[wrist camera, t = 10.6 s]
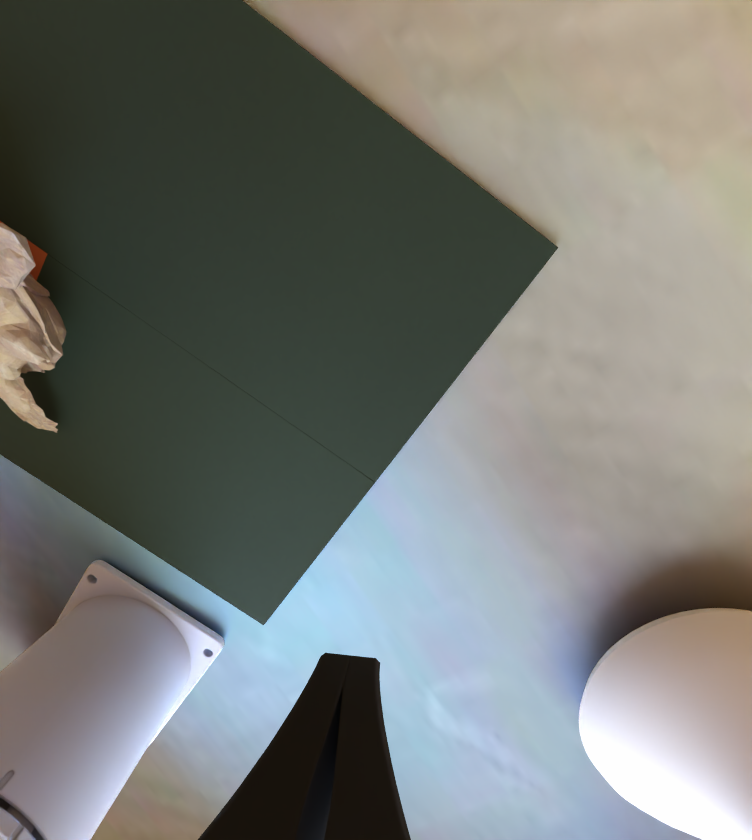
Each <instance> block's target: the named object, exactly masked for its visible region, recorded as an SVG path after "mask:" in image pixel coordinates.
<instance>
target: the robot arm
mask: <svg viewBox="0 0 752 840" xmlns="http://www.w3.org/2000/svg"><path fill="white" fill-rule="evenodd" d="M94 576H95V577H96V578H95V577H94ZM224 644H225V642H224V639H223V637H221V636H220V635H219V634H217V633H216V632H214V631H213V630H211V629H210V628H208V627H206V626H205V625H203V624H202V623H200V622H199V621H197V620H195V619H194V618H192V617H191V616H189V615H188V614H186V613H185V612H183V611H181V610H180V609H178V608H177V607H175V606H174V605H172V604H170V603H169V602H167V601H166V600H164V599H163V598H161V597H160V596H158V595H156V594H155V593H153V592H152V591H150V590H149V589H147V588H146V587H144V586H142V585H141V584H139V583H138V582H136V581H135V580H133V579H131V578H130V577H128V576H127V575H125V574H124V573H122V572H121V571H119V570H117V569H116V568H114V567H113V566H111V565H110V564H108V563H107V562H105V561H102V560H96V561H94V562H93V563H91V564H90V565H89V566H88V568H87V569H86V571H85V573H84V575H83V576H82V578H81V580H80V581H79V583H78V585H77V587H76V588H75V590H74V592H73V594H72V595H71V597H70V599H69V601H68V602H67V604H66V606H65V608H64V609H63V611H62V613H61V614H60V616H59V618H58V620H57V621H56V623H55V625H54V626H53V627H52V628H51V629H50V630H49V631H47V632H46V633H45V634H44V635H43V636H42V637H40V638H39V639H38V640H37V641H36V642H35V643H33V644H32V645H31V646H30V647H29V648H28V649H26V650H25V651H24V652H23V653H22V654H21V655H19V656H18V657H17V658H16V659H15V660H14V661H13V662H11V663H10V664H9V665H8V666H7V667H6V668H4V669H3V670H2V671H1V672H0V840H90V839H91V838H92V836H93V834H94V833H95V831H96V830H97V828H98V826H99V825H100V823H101V821H102V820H103V818H104V817H105V815H106V813H107V812H108V810H109V809H110V807H111V805H112V804H113V802H114V800H115V799H116V797H117V796H118V794H119V792H120V791H121V789H122V787H123V786H124V784H125V783H126V781H127V779H128V778H129V776H130V775H131V773H132V771H133V770H134V768H135V766H136V765H137V763H138V762H139V760H140V758H141V757H142V755H143V753H144V752H145V750H146V749H147V747H148V746H149V745H150V744H151V743H152V741H153V740H154V739H155V738H156V736H157V735H158V734H159V732H160V731H161V730H162V728H163V727H164V726H165V724H166V723H167V722H168V720H169V719H170V718H171V716H172V715H173V714H174V712H175V711H176V710H177V708H178V707H179V706H180V704H181V703H182V702H183V701H184V699H185V698H186V697H187V695H188V694H189V693H190V691H191V690H192V689H193V687H194V686H195V685H196V683H197V682H198V681H199V679H200V678H201V677H202V675H203V674H204V673H205V671H206V670H207V669H208V668H209V666H210V665H211V664H212V662H213V661H214V660H215V658H216V657H217V656H218V654H219V653H220V652H221V650H222V648H223V647H224ZM209 649H210V650H209ZM379 672H380V662H379V661H378V660H377V659H376V658H368V657H359V656H349V655H340V654H331V653H325V654H323V655H322V656H321V657H320V659H319V661H318V663H317V666H316V668H315V670H314V671H313V673H312V675H311V677H310V679H309V681H308V683H307V685H306V686H305V688H304V690H303V692H302V693H301V695H300V697H299V698H298V700H297V702H296V703H295V705H294V707H293V708H292V710H291V712H290V713H289V715H288V716H287V718H286V719H285V721H284V723H283V724H282V726H281V727H280V729H279V730H278V732H277V734H276V735H275V737H274V738H273V740H272V741H271V743H270V744H269V746H268V747H267V749H266V750H265V751H264V753H263V754H262V756H261V757H260V759H259V760H258V761H257V763H256V764H255V766H254V767H253V768H252V770H251V771H250V773H249V774H248V775H247V777H246V778H245V780H244V781H243V783H242V784H241V785H240V787H239V788H238V789H237V791H236V792H235V793H234V795H233V796H232V797H231V799H230V800H229V801H228V802H227V804H226V805H225V806H224V808H223V809H222V810H221V812H220V813H219V814H218V815H217V817H216V818H215V819H214V820H213V822H212V823H211V824H210V825H209V827H208V828H207V829H206V830H205V832H204V833H203V834H202V835H201V836H200V838H199V839H198V840H411V839H410V835H409V832H408V828H407V824H406V821H405V817H404V813H403V809H402V805H401V801H400V797H399V793H398V789H397V785H396V781H395V776H394V772H393V767H392V763H391V758H390V753H389V747H388V742H387V737H386V732H385V726H384V720H383V712H382V704H381V695H380V681H379Z"/></svg>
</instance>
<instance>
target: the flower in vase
mask: <svg viewBox="0 0 752 840" xmlns="http://www.w3.org/2000/svg"><path fill="white" fill-rule="evenodd" d="M579 731H580V735H581V739H582V743H583V746H584V748H585V750H586V753H587V755H588V756H589V758H590V760H591V761H592V763H593V764H594V766H595V767H596V768H597V769H598V771H599V772H600V773H601V774H602V775H603V777H604V778H605V779H606V780H607V781H608V783H609V784H610V785H611V786H612V787H613V788H614V790H615V791H616V792H618V793H619V794H620V795H621V796H622V797H623V798H624V799H626V800H627V801H629V802H630V803H632V804H633V805H635V806H636V807H638V808H639V809H641V810H643V811H644V812H646V813H648V814H649V815H651V816H653V817H655V818H656V819H658V820H660V821H662V822H663V823H665V824H667V825H669V826H671V827H674V828H676V829H678V830H681V831H683V832H686V833H688V834H691V835H693V836H695V837H698V838H700V839H703V840H752V611H748V610H741V609H734V608H707V609H696V610H690V611H684V612H679V613H675V614H672V615H668V616H664V617H662V618H659V619H657V620H654V621H652V622H649V623H647V624H645V625H643V626H641V627H639V628H637V629H636V630H634V631H632V632H631V633H629V634H628V635H626V636H625V637H623V638H622V639H620V640H619V641H618V642H617V643H616V644H614V645H613V646H612V647H611V648H610V649H609V650H608V651H607V652H606V653H605V654H604V655H603V657H602V658H601V659H600V660H599V661H598V663H597V664H596V666H595V667H594V669H593V670H592V672H591V674H590V677H589V679H588V681H587V683H586V686H585V690H584V693H583V697H582V700H581V704H580V711H579Z"/></svg>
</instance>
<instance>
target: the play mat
mask: <svg viewBox="0 0 752 840" xmlns="http://www.w3.org/2000/svg"><path fill="white" fill-rule="evenodd" d="M0 223H3V224H5V225H6V226H8V227H10V228H11V229H13V230H15V231H16V232H18V233H19V234H21V235H23V236H24V237H26V239H27V241H28V244H29V247H30V250H31V253H32V256H33V259H34V262H35V264H36V266H35V267H34V268H33V269H32V270H31V272H30V274H31V275H32V276H33V278H34V279H35V280H36V281H37V282H38V283H39V284H41V285H42V286H43V287H44V288H46V289H47V290H48V291H49V293H50V296H48V297H49V299H50V300H51V301H52V302H53V304H54V306H55V307H56V309H57V311H58V312H59V314H60V316H61V318H62V321H63V323H64V326H65V329H66V331H67V332H66V336H65V339H64V343H63V344H62V351H63V355H62V356H61V357H60V359H59V360H58V361H57V362H56V363H55V368H53V369H51V370H44V371H45V373H43V372H37V371H29V372H27V373H21V374H20V377H21V378H23V380H24V384H25V386H26V387H27V388H28V389H29V391H30V392H31V394H32V396H33V399H34V401H35V403H36V405H37V406H39V407H40V408H41V409H42V410H43V412H44V414H45V417H46V418H48V419H49V420H51V421H53V422H55V423H57V426H56V427H55V428H56V429H58V431H57V433H56V432H54V431H50V430H45V429H38V428H36V427H34V426H33V425H31V424H30V423H28V422H27V421H23V420H22V419H21V418H20V417H19V416H17V415H16V414H15V413H14V412H13V411H12V410H11V409H10V408H9V406H8V405H7V404H6V403H5V401H4V400H3V399H2V398H0V454H1V455H2V456H4V457H5V458H7V459H8V460H10V461H11V462H13V463H14V464H16V465H17V466H19V467H21V468H22V469H24V470H25V471H27V472H28V473H30V474H31V475H33V476H34V477H36V478H38V479H39V480H41V481H42V482H44V483H45V484H47V485H48V486H50V487H51V488H53V489H54V490H56V491H58V492H59V493H61V494H62V495H64V496H65V497H67V498H68V499H70V500H71V501H73V502H74V503H76V504H78V505H79V506H81V507H82V508H84V509H85V510H87V511H88V512H90V513H91V514H93V515H95V516H96V517H98V518H99V519H101V520H102V521H104V522H105V523H107V524H108V525H110V526H111V527H113V528H115V529H116V530H118V531H119V532H121V533H122V534H124V535H125V536H127V537H128V538H130V539H131V540H133V541H135V542H136V543H138V544H139V545H141V546H142V547H144V548H145V549H147V550H148V551H150V552H152V553H153V554H155V555H156V556H158V557H159V558H161V559H162V560H164V561H165V562H167V563H168V564H170V565H172V566H173V567H175V568H176V569H178V570H179V571H181V572H182V573H184V574H185V575H187V576H189V577H190V578H192V579H193V580H195V581H196V582H198V583H199V584H201V585H202V586H204V587H205V588H207V589H209V590H210V591H212V592H213V593H215V594H216V595H218V596H219V597H221V598H222V599H224V600H225V601H227V602H229V603H230V604H232V605H233V606H235V607H236V608H238V609H239V610H241V611H242V612H244V613H246V614H247V615H249V616H250V617H252V618H253V619H255V620H256V621H258V622H259V623H261V624H262V625H264V624H265V623H266V622H267V620H268V619H269V618H270V616H271V615H272V614H273V613H274V611H275V610H276V609H277V607H278V606H279V605H280V604H281V602H282V601H283V600H284V598H285V597H286V596H287V595H288V593H289V592H290V591H291V589H292V588H293V587H294V586H295V584H296V583H297V582H298V580H299V579H300V578H301V577H302V575H303V574H304V573H305V571H306V570H307V569H308V568H309V566H310V565H311V564H312V563H313V561H314V560H315V559H316V557H317V556H318V555H319V554H320V552H321V551H322V550H323V548H324V547H325V546H326V545H327V543H328V542H329V541H330V539H331V538H332V537H333V536H334V534H335V533H336V532H337V530H338V529H339V528H340V527H341V525H342V524H343V523H344V521H345V520H346V519H347V518H348V516H349V515H350V514H351V513H352V511H353V510H354V509H355V507H356V506H357V505H358V504H359V502H360V501H361V500H362V498H363V497H364V496H365V495H366V493H367V492H368V491H369V489H370V488H371V487H372V486H373V484H374V483H375V482H376V480H377V479H378V478H379V477H380V475H381V474H382V473H383V471H384V470H385V469H386V468H387V466H388V465H389V464H390V462H391V461H392V460H393V459H394V457H395V456H396V455H397V454H398V452H399V451H400V450H401V448H402V447H403V446H404V445H405V443H406V442H407V441H408V439H409V438H410V437H411V436H412V434H413V433H414V432H415V430H416V429H417V428H418V427H419V425H420V424H421V423H422V421H423V420H424V419H425V418H426V416H427V415H428V414H429V412H430V411H431V410H432V409H433V407H434V406H435V405H436V403H437V402H438V401H439V400H440V398H441V397H442V396H443V395H444V393H445V392H446V391H447V389H448V388H449V387H450V386H451V384H452V383H453V382H454V380H455V379H456V378H457V377H458V375H459V374H460V373H461V371H462V370H463V369H464V368H465V366H466V365H467V364H468V362H469V361H470V360H471V359H472V357H473V356H474V355H475V353H476V352H477V351H478V350H479V348H480V347H481V346H482V345H483V343H484V342H485V341H486V339H487V338H488V337H489V336H490V334H491V333H492V332H493V330H494V329H495V328H496V327H497V325H498V324H499V323H500V321H501V320H502V319H503V318H504V316H505V315H506V314H507V312H508V311H509V310H510V309H511V307H512V306H513V305H514V303H515V302H516V301H517V300H518V298H519V297H520V296H521V294H522V293H523V292H524V291H525V289H526V288H527V287H528V286H529V284H530V283H531V282H532V280H533V279H534V278H535V277H536V275H537V274H538V273H539V271H540V270H541V269H542V268H543V266H544V265H545V264H546V262H547V261H548V260H549V259H550V257H551V256H552V255H553V253H554V252H555V251H556V250H557V248H558V247H557V246H555V245H554V244H553V243H552V242H550V241H549V240H548V239H547V238H545V237H544V236H543V235H541V234H540V233H539V232H538V231H536V230H535V229H534V228H532V227H531V226H530V225H529V224H527V223H526V222H525V221H523V220H522V219H521V218H520V217H518V216H517V215H516V214H515V213H513V212H512V211H511V210H509V209H508V208H507V207H506V206H504V205H503V204H502V203H500V202H499V201H498V200H497V199H495V198H494V197H493V196H492V195H490V194H489V193H488V192H486V191H485V190H484V189H483V188H481V187H480V186H479V185H477V184H476V183H475V182H474V181H472V180H471V179H470V178H469V177H467V176H466V175H465V174H463V173H462V172H461V171H460V170H458V169H457V168H456V167H454V166H453V165H452V164H451V163H449V162H448V161H447V160H445V159H444V158H443V157H442V156H440V155H439V154H438V153H437V152H435V151H434V150H433V149H431V148H430V147H429V146H428V145H426V144H425V143H424V142H422V141H421V140H420V139H419V138H417V137H416V136H415V135H414V134H412V133H411V132H410V131H408V130H407V129H406V128H405V127H403V126H402V125H401V124H399V123H398V122H397V121H396V120H394V119H393V118H392V117H391V116H389V115H388V114H387V113H385V112H384V111H383V110H382V109H380V108H379V107H378V106H376V105H375V104H374V103H373V102H371V101H370V100H369V99H368V98H366V97H365V96H364V95H362V94H361V93H360V92H359V91H357V90H356V89H355V88H353V87H352V86H351V85H350V84H348V83H347V82H346V81H344V80H343V79H342V78H341V77H339V76H338V75H337V74H336V73H334V72H333V71H332V70H330V69H329V68H328V67H327V66H325V65H324V64H323V63H321V62H320V61H319V60H318V59H316V58H315V57H314V56H313V55H311V54H310V53H309V52H307V51H306V50H305V49H304V48H302V47H301V46H300V45H298V44H297V43H296V42H295V41H293V40H292V39H291V38H290V37H288V36H287V35H286V34H284V33H283V32H282V31H281V30H279V29H278V28H277V27H275V26H274V25H273V24H272V23H270V22H269V21H268V20H266V19H265V18H264V17H263V16H261V15H260V14H259V13H258V12H256V11H255V10H254V9H252V8H251V7H250V6H249V5H247V4H246V3H245V2H243V1H242V0H0Z"/></svg>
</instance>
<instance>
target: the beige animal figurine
mask: <svg viewBox="0 0 752 840" xmlns="http://www.w3.org/2000/svg"><path fill="white" fill-rule="evenodd" d="M35 266H36V264H35V262H34V259H33V256H32V253H31V250H30V247H29V244H28V241H27V239H26V237H24V236H23V235H21V234H19V233H18V232H16V231H15V230H13V229H11V228H10V227H8V226H6V225H5V224H3V223H0V398H2V399H3V400H4V401H5V403H6V404H7V405H8V406H9V408H10V409H11V410H12V411H13V412H14V413H15V414H16V415H17V416H19V417H20V418H21V419H22V420H23V421H27V422H28V423H30V424H31V425H33V426H34V427H36V428H38V429H45V430H50V431H54V432H56V433H57V431H58V429H56V428H55V427H56V426H57V423H55V422H53V421H51V420H49V419H48V418H46V417H45V414H44V412H43V410H42V409H41V408H40V407H39V406H37V405H36V403H35V401H34V399H33V396H32V394H31V392H30V391H29V389H28V388H27V387H26V386H25V384H24V380H23V378H21V377H20V374H21V373H27V372H29V371H37V372H43V373H45V371H44V370H51V369H53V368H55V363H56V362H57V361H58V360H59V359H60V357H61V356H62V355H63V351H62V344H63V343H64V339H65V336H66V332H67V331H66V329H65V326H64V323H63V321H62V318H61V316H60V314H59V312H58V311H57V309H56V307H55V306H54V304H53V302H52V301H51V300H50V299H49V297H48V296H50V293H49V291H48V290H47V289H46V288H44V287H43V286H42V285H41V284H39V283H38V282H37V281H36V280H35V279H34V278H33V276H32V275H31V274H30V272H31V270H32V269H33V268H34V267H35Z"/></svg>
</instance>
